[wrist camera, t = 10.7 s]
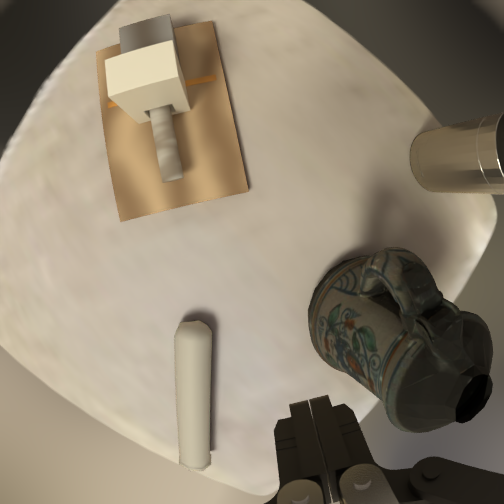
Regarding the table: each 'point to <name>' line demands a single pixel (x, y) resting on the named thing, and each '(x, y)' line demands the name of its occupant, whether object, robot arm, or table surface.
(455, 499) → the robot arm
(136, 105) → the sleeve
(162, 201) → the pipe stand
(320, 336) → the beer stein
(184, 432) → the tube
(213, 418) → the table surface
